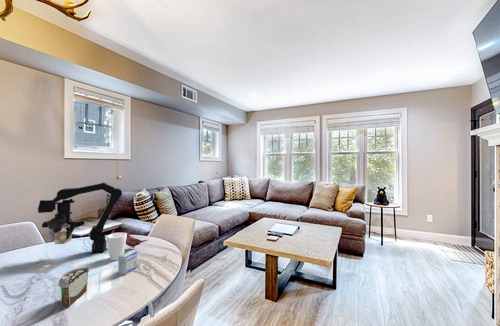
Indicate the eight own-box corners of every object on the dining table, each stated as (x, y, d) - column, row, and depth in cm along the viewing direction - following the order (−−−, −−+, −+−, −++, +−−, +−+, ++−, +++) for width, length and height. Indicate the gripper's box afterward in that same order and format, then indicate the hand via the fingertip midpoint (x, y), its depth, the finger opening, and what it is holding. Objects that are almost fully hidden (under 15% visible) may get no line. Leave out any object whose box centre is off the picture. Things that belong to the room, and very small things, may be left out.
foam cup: (102, 260, 120) (103, 236, 120) (118, 253, 129) (118, 231, 129) (114, 263, 117) (115, 238, 117) (129, 256, 125) (130, 233, 125)
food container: (73, 290, 91) (73, 266, 91) (88, 290, 91) (89, 266, 92) (48, 310, 79) (49, 282, 79) (66, 309, 79) (67, 282, 79)
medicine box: (125, 275, 105) (126, 256, 105) (117, 274, 105) (118, 256, 105) (137, 267, 112) (137, 250, 112) (129, 266, 113) (130, 249, 113)
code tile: (65, 262, 117) (65, 261, 117) (46, 273, 105) (46, 272, 105) (41, 262, 116) (41, 262, 116) (20, 273, 104) (20, 273, 104)
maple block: (71, 240, 126) (71, 229, 126) (63, 243, 120) (63, 233, 120) (63, 240, 125) (63, 229, 125) (54, 244, 119) (54, 233, 119)
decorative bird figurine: (123, 247, 139) (123, 231, 139) (148, 249, 136) (149, 233, 136) (119, 249, 136) (120, 233, 136) (146, 251, 133) (146, 234, 133)
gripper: (33, 214, 114) (32, 244, 114) (70, 214, 115) (70, 243, 115) (50, 210, 125) (50, 237, 125) (85, 209, 126) (84, 236, 126)
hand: (63, 238), depth 123 cm, fingers closed on maple block, 4 cm apart
